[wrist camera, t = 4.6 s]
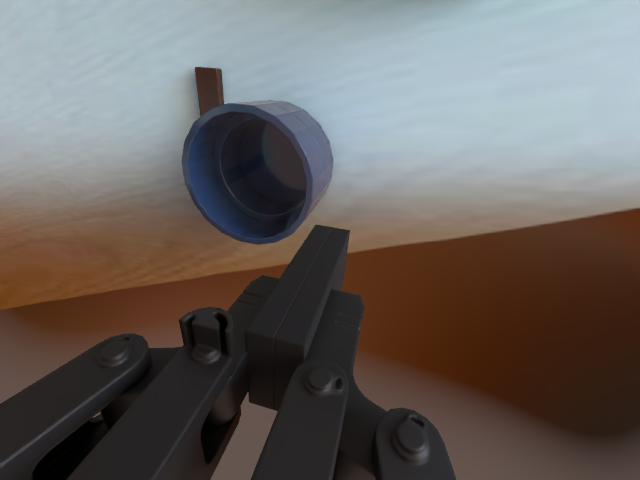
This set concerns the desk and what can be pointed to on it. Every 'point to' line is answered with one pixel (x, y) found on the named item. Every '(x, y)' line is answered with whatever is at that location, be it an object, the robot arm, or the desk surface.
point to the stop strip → (209, 88)
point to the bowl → (257, 168)
